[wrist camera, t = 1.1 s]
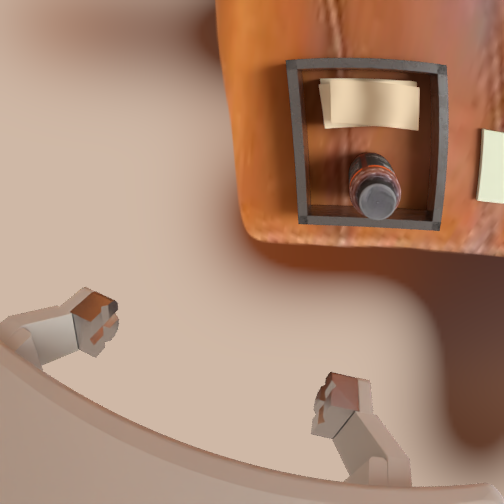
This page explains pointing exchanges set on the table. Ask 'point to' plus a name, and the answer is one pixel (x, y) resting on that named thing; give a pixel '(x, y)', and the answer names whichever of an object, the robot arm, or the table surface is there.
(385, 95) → the offcut stack
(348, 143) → the table surface
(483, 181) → the mat
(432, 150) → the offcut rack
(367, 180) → the supplement bottle
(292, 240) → the table surface
